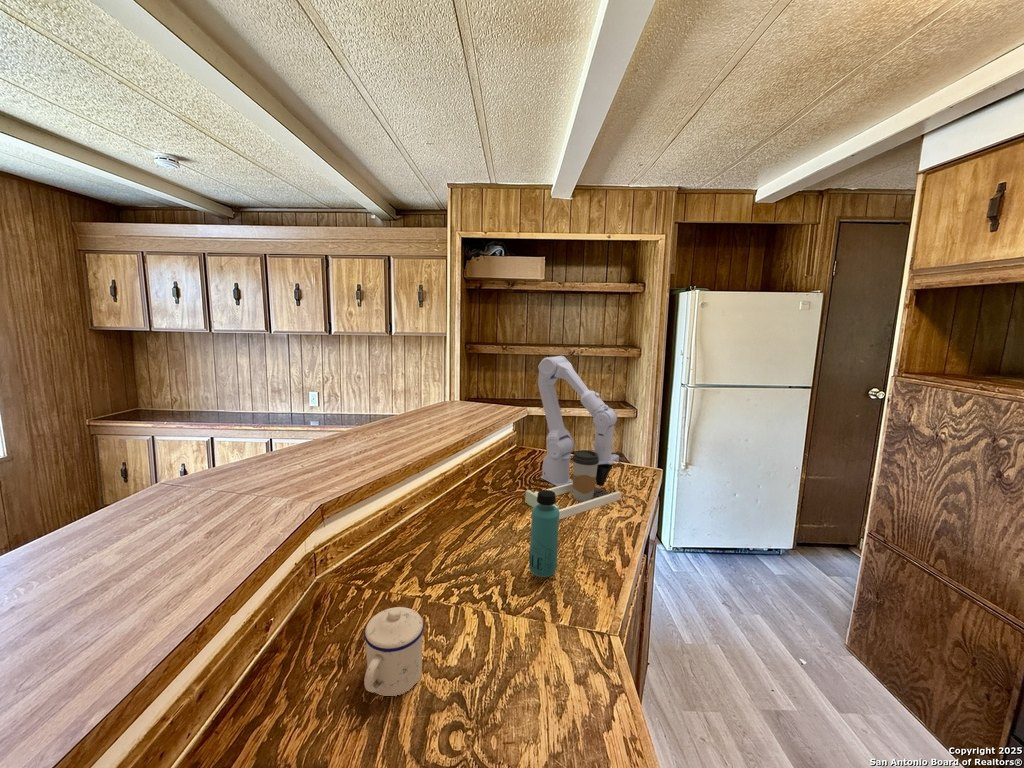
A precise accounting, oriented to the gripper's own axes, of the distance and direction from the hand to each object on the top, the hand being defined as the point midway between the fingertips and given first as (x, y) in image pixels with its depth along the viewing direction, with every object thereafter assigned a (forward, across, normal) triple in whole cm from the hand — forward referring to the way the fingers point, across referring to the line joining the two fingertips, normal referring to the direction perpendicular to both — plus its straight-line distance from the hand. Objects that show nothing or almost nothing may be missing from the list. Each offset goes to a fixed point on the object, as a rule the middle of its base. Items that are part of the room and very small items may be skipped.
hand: (600, 484), depth 146 cm
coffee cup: (+3, -8, 0) cm, 8 cm away
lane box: (+3, -12, 0) cm, 12 cm away
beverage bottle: (+3, -46, -25) cm, 52 cm away
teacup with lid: (+3, -85, -34) cm, 91 cm away
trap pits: (+3, 0, 0) cm, 3 cm away
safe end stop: (+3, -25, 0) cm, 25 cm away
